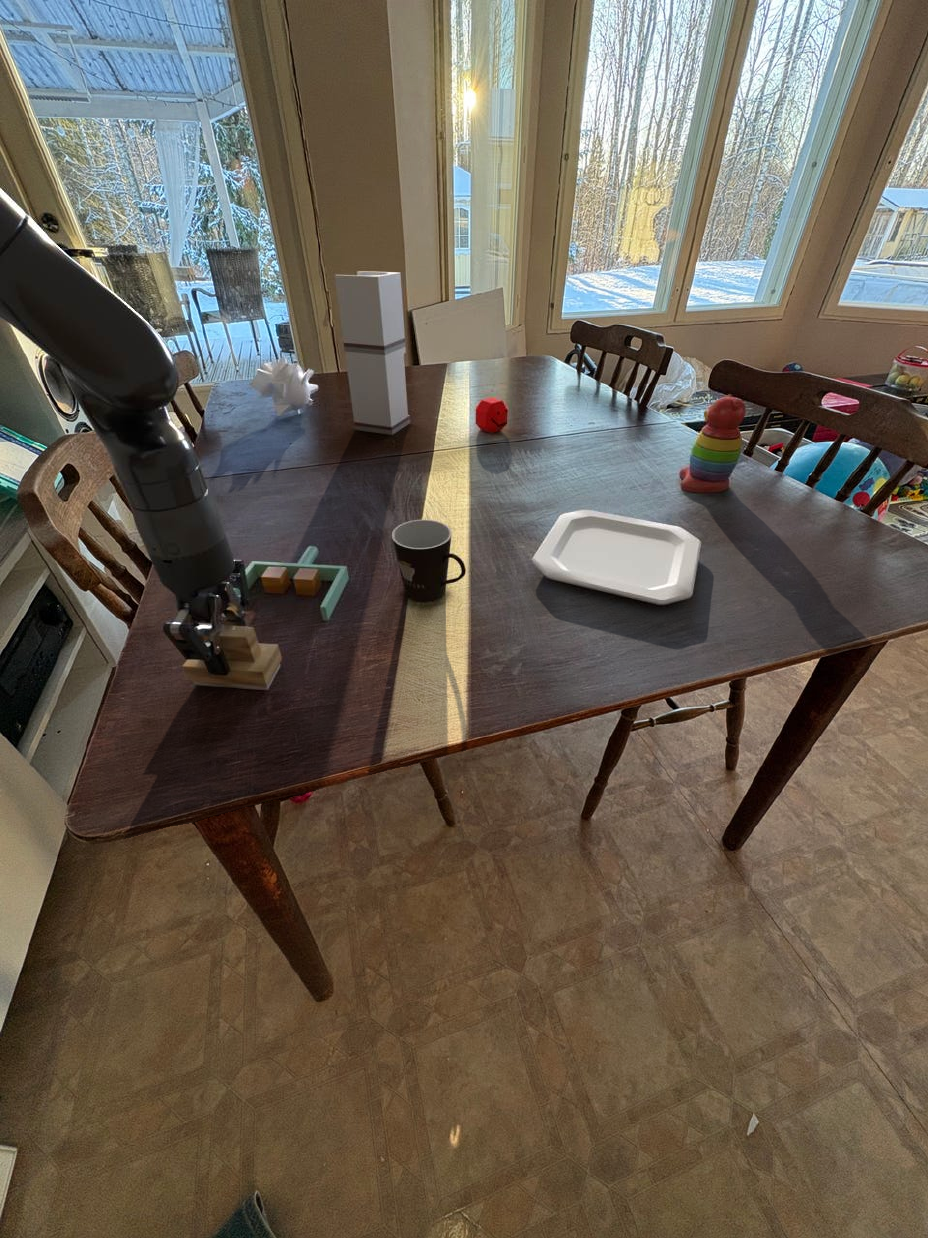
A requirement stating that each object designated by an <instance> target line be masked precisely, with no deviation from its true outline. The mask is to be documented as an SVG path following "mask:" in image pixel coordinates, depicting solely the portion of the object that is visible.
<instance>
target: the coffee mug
mask: <svg viewBox="0 0 928 1238" xmlns="http://www.w3.org/2000/svg"><path fill="white" fill-rule="evenodd" d="M452 532H453V531H452V530H451V527H450V526H449V525H447V524H445V523H443V522H441V521H437V520H434V519H414V520H409V521H406V522H403V523H401V524H399V525H397V526H396V527H394V529H393V530H392V532H391V538H392V539H391V540H392V543H393V547H394V551H395V556H396V560H397V565H398V568H399V574H400V577H401V581H402V585H403V590H404V595H405V596H406V598H407V599H409V600H411V601H413V602H417V603H431V602H435V601H438V600H439V599H441V598H442V597H444V595H445V594H446V592H447V591H446V590H447V585H450V584H453V583H457V582H458V581H460V580H462V579H463V578H464V577H465V575H466V573H467V570H466V565H465V562H464V561H463V560H462V559H461V557H459V556H458V555H456V554H455V553H452V552H451V543H452V535H453V534H452ZM450 559H453V560H455V561H456V562H457V564H458V565H459V567H460V570H461V571H460V574H459V575H458V576H457V577H454V578H450V579H448V572H449V564H450V563H449V562H450Z"/></svg>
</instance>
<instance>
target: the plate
mask: <svg viewBox="0 0 928 1238" xmlns="http://www.w3.org/2000/svg"><path fill="white" fill-rule="evenodd" d="M701 546H702V542H701V540H700V539H699V538H698V537H696V536H694V535H693V534H692V533H690V532H689V531H688V530H686V529H685V528H683V527H680V526H678V525H673V524H667V523H661V522H655V521H651V520H645V519H640V518H635V517H629V516H623V515H618V514H613V513H608V512H603V511H596V510H593V509H592V510H591V509H580V510H575V511H571V512H565V513H562V514H561V515H559V516H558V518H557V519H556V521H555V523H554V524H553V526H552V527H551V529H550V530H549V532H548V534H547V535H546V536H545V538H544V540H543V542H542V543H541V544H540V545H539V548H538V549H537V551H536V552H535V554H534V555H533V557H532V559H531V561H532V563H533V565H534V566H535V567H536V568H537V569H538V570H539V571H540V572H541V574H542V575H544V577H545V578H547V579H549V580H553V581H557V582H560V583H566V584H570V585H574V586H578V587H583V588H587V589H591V590H595V591H599V592H604V593H608V594H613V595H616V596H621V597H625V598H630V599H633V600H638V601H642V602H647V603H651V604H653V605H654V604H655V605H657V606H659V605H661V606H665V605H669V604H672V603H677V602H681V601H684V600H687V599H690V598H691V597H692V596H693V593H694V588H695V581H696V576H697V570H698V565H699V559H700V558H699V557H700V554H701V553H700V552H701Z"/></svg>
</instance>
